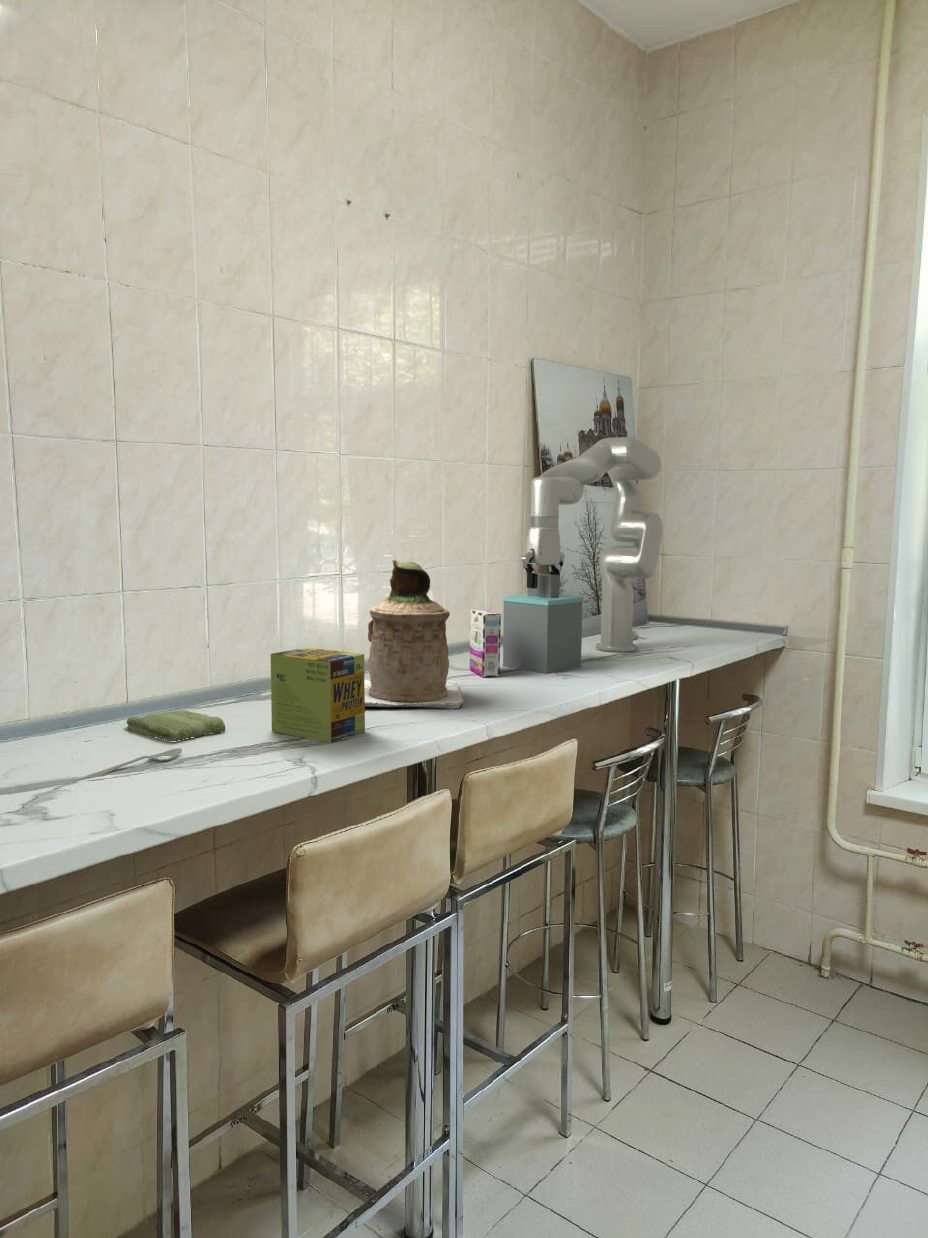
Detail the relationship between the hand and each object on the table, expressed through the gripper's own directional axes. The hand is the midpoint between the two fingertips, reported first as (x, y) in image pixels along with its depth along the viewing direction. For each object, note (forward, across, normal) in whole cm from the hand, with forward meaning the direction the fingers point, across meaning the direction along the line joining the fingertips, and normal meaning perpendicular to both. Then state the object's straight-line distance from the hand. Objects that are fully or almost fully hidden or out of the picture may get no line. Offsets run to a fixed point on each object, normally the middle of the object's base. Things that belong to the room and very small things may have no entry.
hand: (543, 587), depth 242 cm
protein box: (+22, +86, +13) cm, 90 cm away
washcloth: (+22, +105, -8) cm, 108 cm away
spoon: (+22, +123, +9) cm, 125 cm away
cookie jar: (+22, +53, +3) cm, 57 cm away
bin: (+22, 0, 0) cm, 22 cm away
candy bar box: (+22, +19, -4) cm, 29 cm away
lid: (+4, 0, 0) cm, 4 cm away
